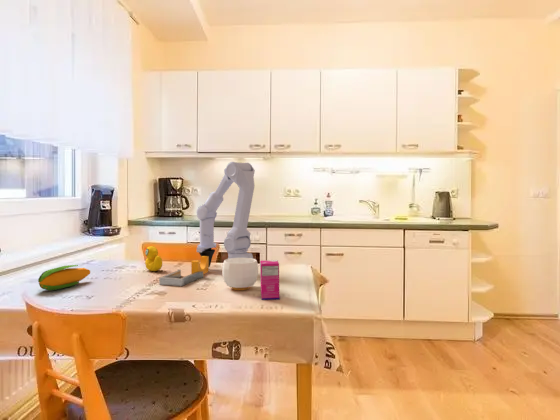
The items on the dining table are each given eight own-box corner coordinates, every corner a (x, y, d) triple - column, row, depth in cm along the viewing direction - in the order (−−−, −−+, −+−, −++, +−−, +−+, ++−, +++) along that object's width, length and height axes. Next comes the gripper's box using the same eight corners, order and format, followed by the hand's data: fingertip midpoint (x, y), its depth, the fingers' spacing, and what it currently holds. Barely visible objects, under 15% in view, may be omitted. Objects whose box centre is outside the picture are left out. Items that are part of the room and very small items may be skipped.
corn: (31, 269, 135) (81, 259, 154) (31, 291, 136) (81, 279, 155) (47, 272, 133) (97, 261, 151) (47, 295, 133) (96, 282, 152)
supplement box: (260, 295, 133) (260, 259, 133) (278, 294, 134) (278, 259, 133) (260, 300, 128) (260, 263, 127) (279, 299, 128) (280, 263, 127)
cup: (255, 283, 149) (255, 256, 149) (261, 292, 137) (261, 263, 137) (221, 285, 147) (220, 258, 146) (223, 294, 135) (223, 264, 134)
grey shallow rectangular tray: (203, 277, 159) (203, 271, 158) (184, 286, 144) (184, 279, 144) (178, 275, 162) (178, 269, 161) (156, 284, 147) (156, 277, 147)
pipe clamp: (198, 271, 170) (198, 255, 170) (208, 271, 170) (208, 256, 169) (187, 277, 159) (187, 261, 158) (197, 278, 158) (197, 261, 157)
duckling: (139, 269, 172) (139, 245, 172) (151, 267, 176) (151, 244, 176) (154, 273, 165) (153, 248, 164) (166, 271, 169) (165, 247, 168)
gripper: (205, 232, 181) (205, 263, 182) (189, 236, 167) (190, 269, 168) (220, 232, 179) (220, 264, 180) (205, 237, 165) (206, 270, 166)
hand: (207, 266), depth 174 cm, fingers closed
